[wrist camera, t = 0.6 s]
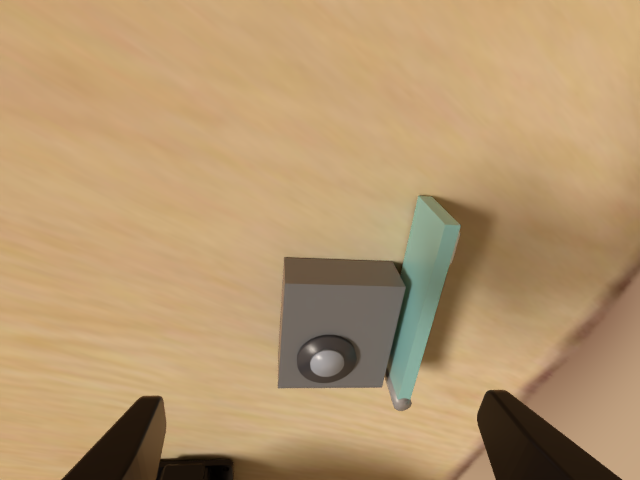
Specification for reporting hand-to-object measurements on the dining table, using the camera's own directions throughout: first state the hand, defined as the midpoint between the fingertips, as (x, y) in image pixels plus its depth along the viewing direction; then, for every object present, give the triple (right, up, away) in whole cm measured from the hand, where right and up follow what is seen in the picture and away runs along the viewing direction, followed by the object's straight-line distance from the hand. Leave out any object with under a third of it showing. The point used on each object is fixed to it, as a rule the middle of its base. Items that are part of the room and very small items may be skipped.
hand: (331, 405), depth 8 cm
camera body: (0, -1, +14) cm, 14 cm away
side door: (+5, +1, +13) cm, 14 cm away
